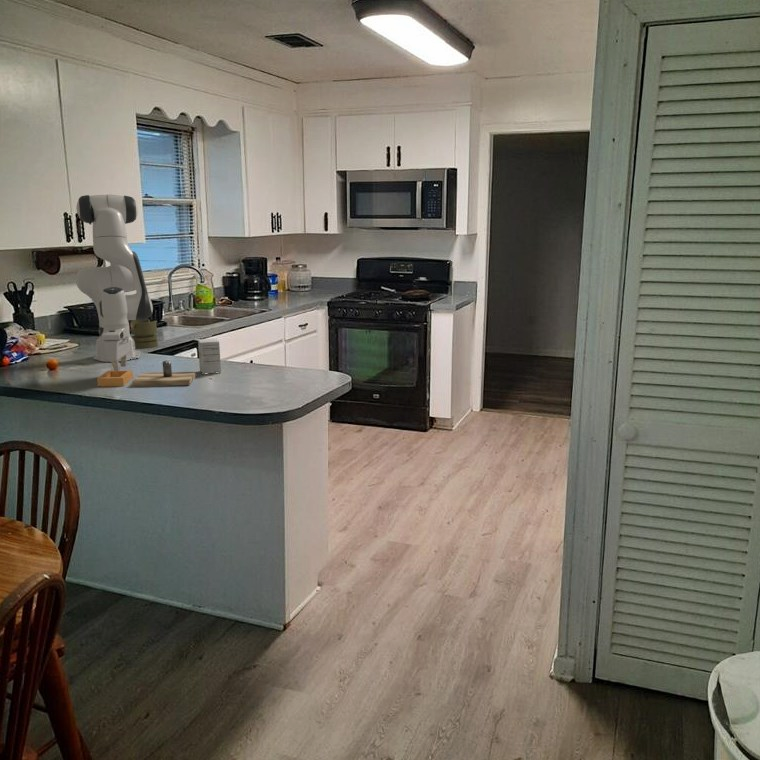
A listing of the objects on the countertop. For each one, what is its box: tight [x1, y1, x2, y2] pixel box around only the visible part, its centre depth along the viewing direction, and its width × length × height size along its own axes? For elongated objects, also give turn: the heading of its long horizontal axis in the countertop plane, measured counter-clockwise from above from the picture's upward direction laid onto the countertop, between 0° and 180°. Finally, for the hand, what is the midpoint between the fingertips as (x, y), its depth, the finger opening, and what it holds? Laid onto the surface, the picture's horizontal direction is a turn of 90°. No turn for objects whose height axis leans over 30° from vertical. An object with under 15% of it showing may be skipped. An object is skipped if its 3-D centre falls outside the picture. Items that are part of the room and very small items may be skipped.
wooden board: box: [131, 371, 197, 387], centre depth 261 cm, size 14×20×2 cm
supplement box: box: [197, 338, 222, 375], centre depth 275 cm, size 7×7×13 cm
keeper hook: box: [161, 360, 173, 377], centre depth 259 cm, size 4×3×6 cm, turn 4°
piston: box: [130, 318, 159, 350], centre depth 330 cm, size 11×12×11 cm
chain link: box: [96, 369, 134, 387], centre depth 260 cm, size 13×9×3 cm
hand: (120, 368), depth 265 cm, fingers open, 8 cm apart
